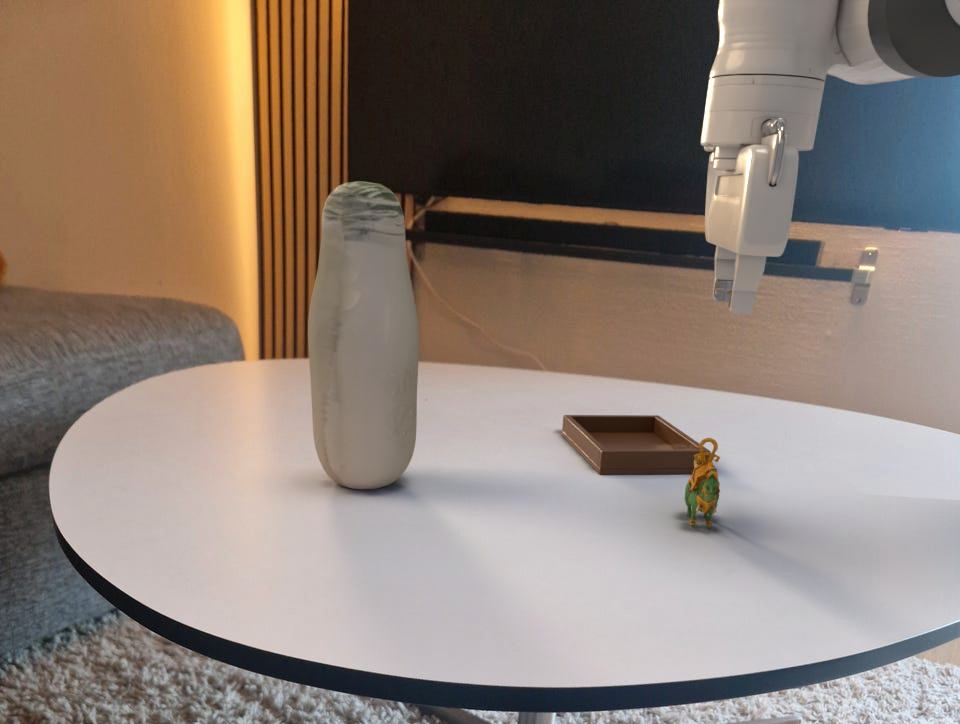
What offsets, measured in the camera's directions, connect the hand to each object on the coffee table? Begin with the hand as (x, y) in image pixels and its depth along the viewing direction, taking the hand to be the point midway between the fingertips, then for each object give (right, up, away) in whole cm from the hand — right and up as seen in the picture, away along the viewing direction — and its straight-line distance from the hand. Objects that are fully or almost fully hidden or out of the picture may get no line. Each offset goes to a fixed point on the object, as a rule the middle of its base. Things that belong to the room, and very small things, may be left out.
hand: (730, 307), depth 80 cm
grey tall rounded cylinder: (-33, -13, +15) cm, 39 cm away
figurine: (-1, -18, +9) cm, 20 cm away
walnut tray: (-4, -6, +31) cm, 32 cm away
